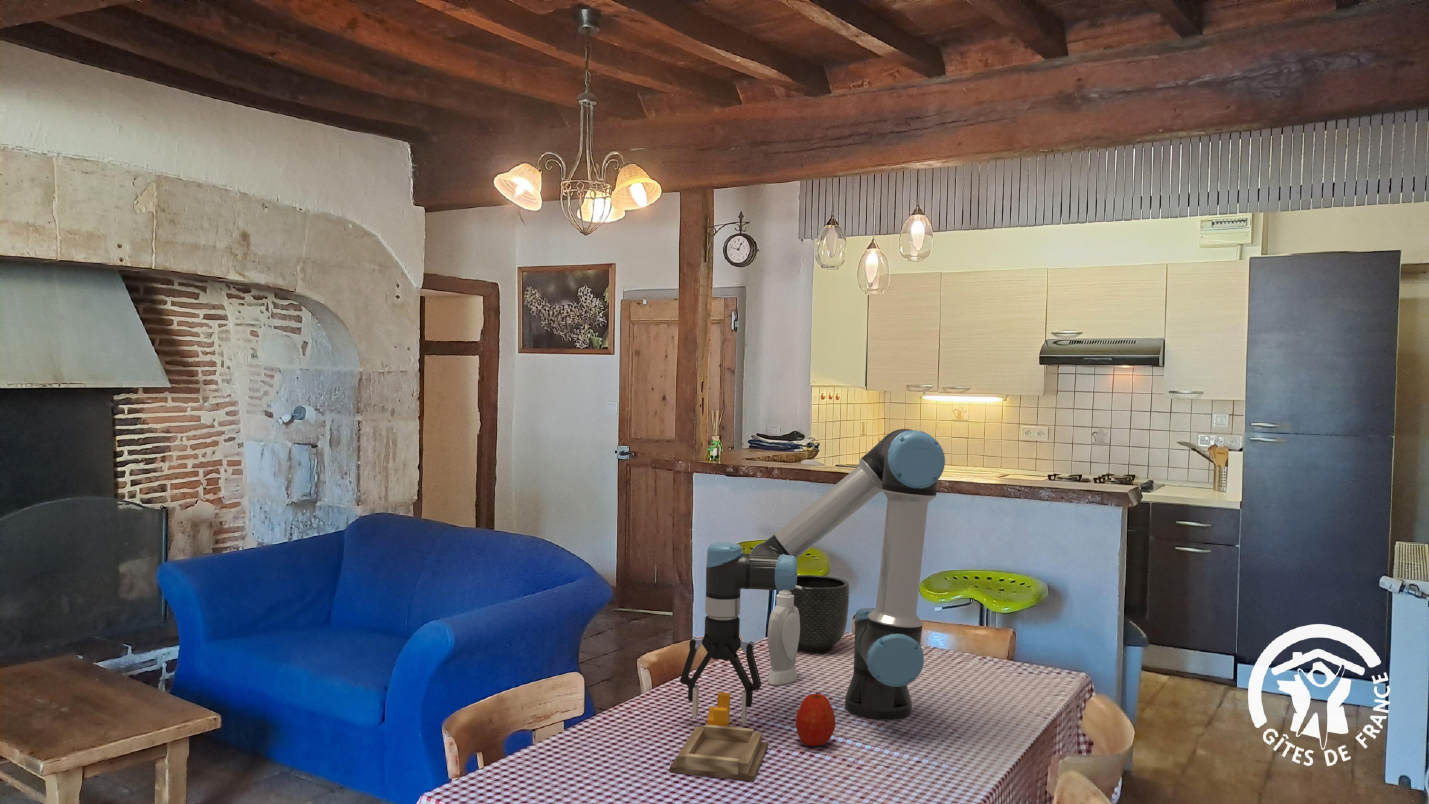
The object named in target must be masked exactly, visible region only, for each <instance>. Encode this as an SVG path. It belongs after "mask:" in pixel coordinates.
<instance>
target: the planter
mask: <svg viewBox="0 0 1429 804" xmlns="http://www.w3.org/2000/svg"><path fill="white" fill-rule="evenodd" d="M796 585H797V586H800V587H803V589H798V588H794V589H793V590H789V592H791V595H793V596H794V606H795V607H797V608H798V611H799V615H800V637H799V644H798V650H797V652H801V653H802V652H803V653H807V654H824V653H828V652H830V651H832V650H833V648H834V646H835V645H836V644H837V643H838V642H840V641H841V639H842V638H843V636H844V634H845V632H846V628H847V624H848V614H849V605H850V604H849V603H850V583H849V582H848V581H847V580H846V579H845V580H844V579H842V578H837V577H833V576H826V575H814V574H808V575H807V574H800V575H799V574H797V584H796ZM778 591H779V590H778ZM779 592H780V591H779ZM779 592H778V593H779Z"/></svg>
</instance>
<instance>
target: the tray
mask: <svg viewBox="0 0 1429 804" xmlns="http://www.w3.org/2000/svg"><path fill="white" fill-rule="evenodd" d="M768 748H769V742H768V741H763V732H759V731H755V729H754V728H746V727H739V726H738V727H737V726H718V725H708V724H707V723H706V724H705V725H704V726H698V725H695V728H694V729H693V731H692V732H691V734H690V736H689V737H688V738H687V740H686V741H685V743H684V745H683V746H682V748H681V749H680V751H679V752H678V753H677V755H676V757H675V758H674V760H673V761H672V762H671V764H670V765H669V773H671V774H672V773H673V774H683V775H691V776H699V777H709V778H718V779H720V778H721V779H726V780H727V779H728V780H737V781H744V782H745V781H747V782H754V781H755V779H756V777H757V774H758V772H759V770H760V767H761V765H762V762H763V760H764V758H765V755H766V752H767V750H768Z"/></svg>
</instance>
